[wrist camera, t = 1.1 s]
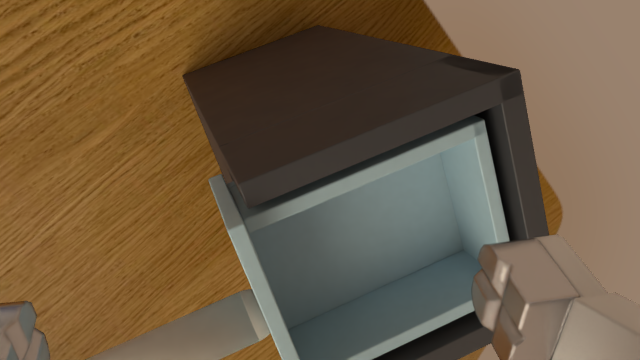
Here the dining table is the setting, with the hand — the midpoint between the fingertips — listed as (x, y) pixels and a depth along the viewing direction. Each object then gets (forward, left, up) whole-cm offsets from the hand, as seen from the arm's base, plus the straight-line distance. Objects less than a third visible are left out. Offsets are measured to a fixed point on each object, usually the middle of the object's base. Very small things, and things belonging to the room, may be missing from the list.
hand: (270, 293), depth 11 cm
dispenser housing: (+7, +6, -35) cm, 36 cm away
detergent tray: (+7, 0, -14) cm, 15 cm away
